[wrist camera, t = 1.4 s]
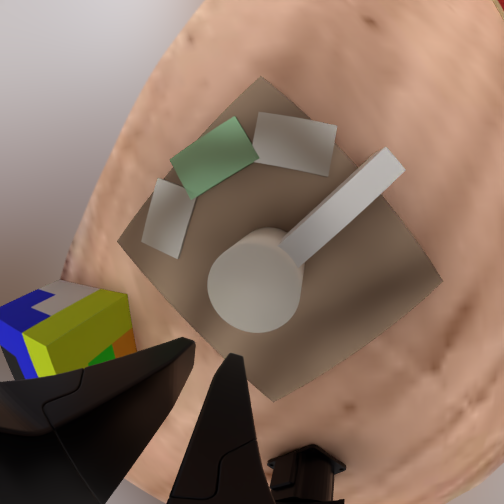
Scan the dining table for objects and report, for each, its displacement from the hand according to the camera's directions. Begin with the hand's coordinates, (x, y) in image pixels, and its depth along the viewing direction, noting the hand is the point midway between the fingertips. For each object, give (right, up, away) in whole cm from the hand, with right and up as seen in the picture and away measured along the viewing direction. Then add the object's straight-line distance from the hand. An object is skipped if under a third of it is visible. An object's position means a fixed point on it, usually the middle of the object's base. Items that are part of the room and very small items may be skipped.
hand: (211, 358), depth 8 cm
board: (+3, +3, +11) cm, 12 cm away
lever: (+5, +5, +9) cm, 11 cm away
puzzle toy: (-15, -5, +18) cm, 23 cm away
